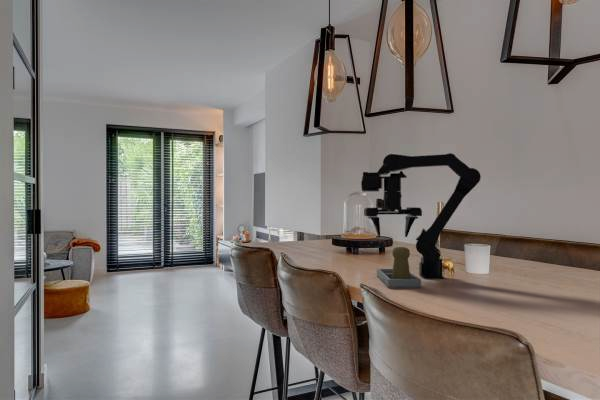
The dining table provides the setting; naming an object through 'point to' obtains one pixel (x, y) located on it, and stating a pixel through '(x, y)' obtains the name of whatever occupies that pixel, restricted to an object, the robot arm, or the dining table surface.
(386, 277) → the grey divided tray
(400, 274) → the olive green upright block
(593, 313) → the dining table surface
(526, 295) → the dining table surface
